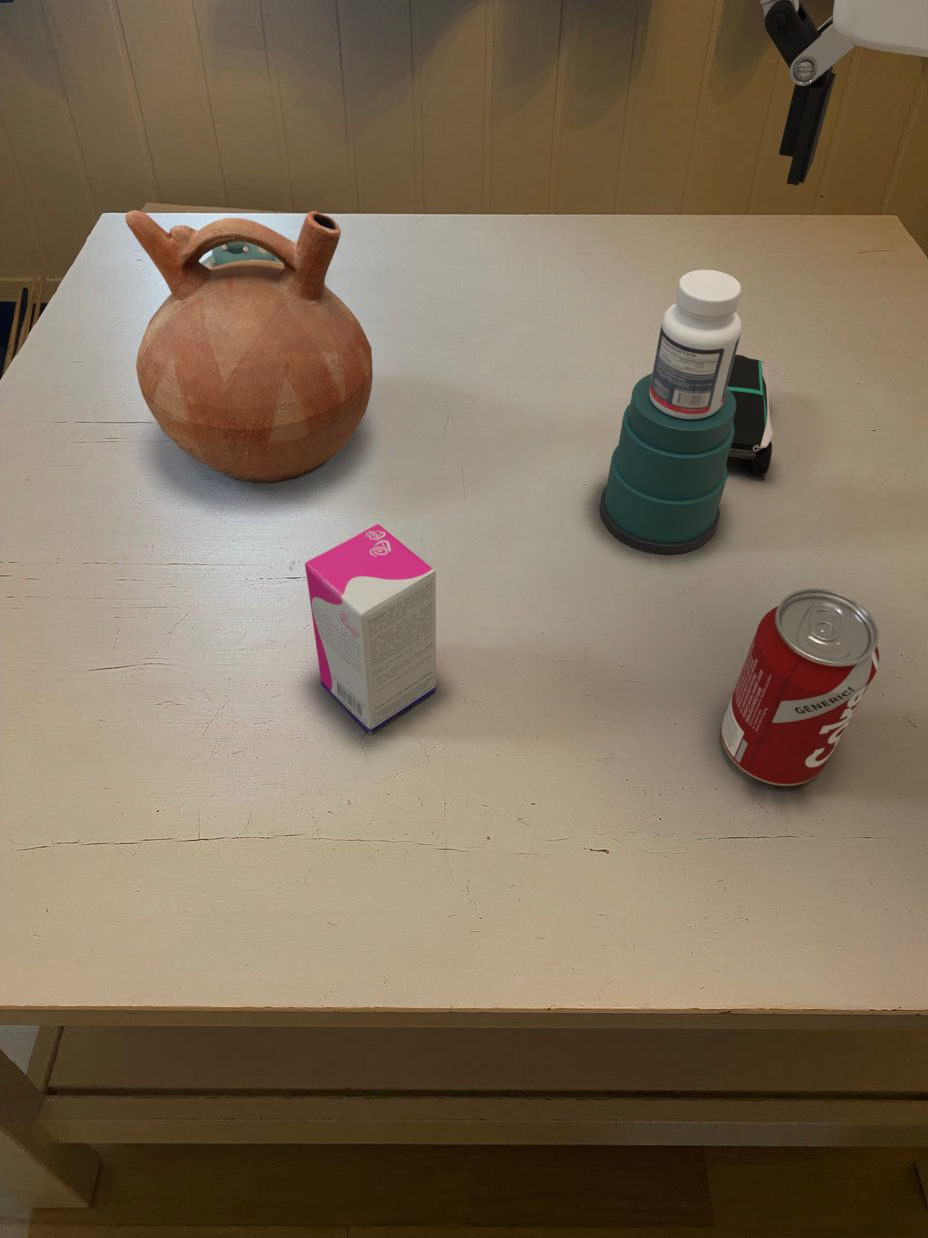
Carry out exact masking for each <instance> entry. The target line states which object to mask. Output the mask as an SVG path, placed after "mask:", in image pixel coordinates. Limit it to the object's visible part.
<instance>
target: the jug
mask: <svg viewBox="0 0 928 1238" xmlns="http://www.w3.org/2000/svg"><path fill="white" fill-rule="evenodd" d="M124 219H125V223H126V225H127V228H128V229H129V230H130V231H131V232H132V234H133V236H134V237H135V239H136V240H137V242H138V243H139V245H140V246H141V248H142V249H143V250H144V252H145V253H146V255H148V257H149V258H150V260H151V261H152V263H153V264H154V266H155V268H157V270H158V272H159V273H160V274H161V276H162V278H163V280H164V281H165V283H166V284H167V287H168V290H169V291H170V294H169V295H168V296H167V297H166V299H165V300H164V301H163V302H162V303H161V305H160V306H159V307H158V309H157V310H156V311H155V313H154V314H153V315H152V316H151V318H150V320H149V322H148V325H147V326H146V329H145V331H144V333H143V336H142V339H141V342H140V344H139V348H138V351H137V356H136V362H135V369H136V375H137V380H138V384H139V388H140V392H141V395H142V397H143V400H144V401H145V403H146V406H147V408H148V410H149V412H150V413H151V414H152V416H153V418H154V419H155V421H156V422H157V425H158V426H159V427H160V429H161V430H162V432H163V433H164V434H165V435H166V436H167V437H168V438H169V439H170V440H171V441H172V442H173V443H174V444H175V445H176V446H177V447H178V448H180V449H181V450H182V451H183V452H184V453H186V454H187V455H188V456H189V457H191V458H193V459H194V460H196V461H197V462H199V463H202V464H203V465H205V466H207V467H209V468H211V469H213V470H215V471H217V472H219V473H221V474H224V475H226V476H228V477H230V478H231V479H234V480H238V481H243V482H247V483H251V484H277V483H282V482H288V481H293V480H296V479H299V478H301V477H304V476H306V475H309V474H311V473H314V472H315V471H316V470H319V469H320V468H322V467H323V466H324V465H326V464H327V463H328V462H329V461H330V460H331V459H332V458H333V457H334V456H335V455H336V454H337V453H338V452H339V451H340V450H341V449H342V448H343V447H344V446H345V445H346V443H347V442H348V441H349V440H350V439H351V438H352V436H353V435H354V433H355V431H356V430H357V428H358V426H359V425H360V423H361V421H362V420H363V417H364V416H365V415H366V412H367V409H368V407H369V402H370V398H371V394H372V389H373V388H372V386H373V377H374V376H373V374H374V373H373V354H372V353H373V352H372V346H371V344H370V342H369V339H368V337H367V335H366V333H365V331H364V329H363V327H362V325H361V323H360V321H359V320H358V318H357V317H356V316H355V314H354V313H353V312H352V311H351V309H350V307H348V306H347V305H346V303H344V302H343V300H342V299H341V298H340V297H339V296H338V295H337V294H335V293H334V292H333V291H332V290H331V289H330V288H329V287H328V286H327V285H326V284H325V283H326V276H327V273H328V270H329V268H330V265H331V263H332V261H333V257H334V255H335V252H336V251H337V247H338V244H339V241H340V238H341V234H342V230H341V228H340V225H339V224H338V223H337V222H336V220H334V218H332V217H331V216H329V215H327V214H324V213H321V212H319V211H316V210H312V211H309V212H307V214H306V216H305V219H304V221H303V223H302V226H301V228H300V232H299V235H298V238H297V240H296V241H293V240H291V239H290V238H288V237H286V236H284V235H283V234H281V233H279V232H278V231H276V230H274V229H271V228H270V227H268V226H267V225H264V224H262V223H259V222H257V221H254V220H250V219H247V218H246V219H245V218H241V217H226V218H221V219H218V220H214V221H212V222H210V223H208V224H206V225H204V226H202V227H201V228H199V230H198V229H196V228H193V227H190V226H188V225H186V224H183V225H174V226H173V227H170V229H169V232H167V231H166V230H165V229H164V228H163V227H162V226H161V225H159V224H158V223H157V222H156V221H155V220H154V219H153V218H152V217H150V216H149V214H147V213H146V212H144V211H140V210H135V209H134V210H130V211H127V212H126V213H125V217H124ZM230 242H248V243H251V244H253V245H256V246H259V247H261V248H263V249H264V250H266V251H268V252H270V253H271V254H272V255H274V256H275V257H276V258H278V259H279V260H280V261H281V262H282V263H280V262H275V261H267V260H243V261H236V262H231V263H227V264H223V265H219V266H216V267H213V268H211V269H209V268H207V267H206V266H204V265H203V264H202V263H201V262H200V261H201V259H202V258H203V256H204V255H206V254H208V253H209V252H212V249H214V248H216V247H219V246H221V245H224V244H227V243H230Z"/></svg>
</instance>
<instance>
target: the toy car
mask: <svg viewBox="0 0 928 1238" xmlns="http://www.w3.org/2000/svg"><path fill="white" fill-rule="evenodd" d="M727 388H728V389H729V390H730V391H731V392H732V394H733V396H734V398H735V401H736V411H735V415H734V418H733V424H734V428H735V429H734V437H733V440H732V444H731V448H730V451H729V455H728V457H730V458H731V457H732V458H740V459H747V460H750V461H752V467H751V470H752V473H753V474H755V475H766V474H767V473H768V471H769V468H770V465H771V462H772V461H771V460H772V454H773V443H772V441H771V440H772V438H773V433H774V431H773V427H772V423H771V422H772V421H771V412H770V398H769V389H770V374H769V370H768V367H767V364H766V362H765V361H763V360H761V359H760V360H759V359H755V358H749V357H747V356H745V355H742V354H735V358H734V362H733V366H732V370H731V374H730V378H729V382H728V386H727Z"/></svg>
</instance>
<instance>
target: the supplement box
mask: <svg viewBox="0 0 928 1238" xmlns="http://www.w3.org/2000/svg"><path fill="white" fill-rule="evenodd" d="M304 568H305V573H306V581H307V589H308V595H309V596H308V597H309V603H310V611H311V617H312V626H313V632H314V639H315V646H316V654H317V660H318V668H319V670H318V671H319V676H320V677H319V678H320V684H321V686H322V687H323V688H324V689H325V690H326V691H327V692H328V693H329V695H330V696H331V697H332V698H333V699H334V700H335V701H336V702H337V703H338V704H339V705H340V706H341V707H342V708H343V709H344V710H345V711H346V712H347V713H348V714H349V715H350V716H351V717H352V718H353V719H354V721H356V722H357V723H358V724H359V725H360V726H361V727H362V728H363V729H364V731H366V732H367V734H368V735H372V734H374V733H376V732H377V731H379V730H380V729H382V728H383V727H385V726H386V725H388V724H389V723H390V722H392V721H393V720H395V719H396V718H398V717H400V716H401V715H402V714H404V713H405V712H407V711H408V710H410V709H411V708H413V707H415V706H416V705H418V704H419V703H421V702H422V701H423V700H425V699H426V698H428V697H429V696H431V695H432V694H434V693H435V692H436V690H437V653H436V651H437V635H436V634H437V632H436V630H437V623H436V622H437V619H436V617H437V614H436V613H437V612H436V611H437V609H436V607H437V604H436V603H437V602H436V601H437V600H436V599H437V598H436V595H437V594H436V593H437V591H436V590H437V589H436V583H437V582H436V581H437V579H436V578H437V577H436V576H437V574H436V569H434V568H433V567H431V565H429V564H428V563H426V561H424V560H423V559H421V558H420V556H418V555H417V554H416V553H415V552H413V550H411V549H410V548H408V547H407V546H406V545H404V543H402V542H401V541H400V540H399V539H397V538H396V537H395V536H394V535H392V533H390V532H389V531H388V530H387V529H385V528H384V527H383V526H382V525H380V523H376V524H375V525H372V526H371V527H368V528H367V529H365V530H364V531H361V532H360V533H358V534H356V535H354V536H353V537H351V538H349V539H347V540H346V541H344V542H342V543H340V544H338V545H336V546H334V547H332V548H331V549H328V550H327V551H325V552H323V553H321V554H319V555H317V556H315V557H313V558H311V559H309V560H307V561H306V562H304Z"/></svg>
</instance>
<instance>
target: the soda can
mask: <svg viewBox="0 0 928 1238" xmlns="http://www.w3.org/2000/svg"><path fill="white" fill-rule="evenodd" d="M879 637H880V635H879V628H878V626H877V623H876V621H875V619H874V617H873V616H872V615H871V614H870V612H869V611H868V610H867V609H866V608H865V607H864V606H863V605H862V604H860V603H859V602H858V601H856V600H854V599H853V598H852V597H849V596H847V595H845V594H843V593H840V592H837V591H834V590H830V589H827V588H826V589H824V588H804V589H800V590H796V591H793V592H792V593H789V594H787V595H786V596H785V597H784V598H783V599H782V600H781V601H780V603H779V604H778V605H777V606H775V607H774V608H772V609H770V610H769V611H768V612H767V613H766V614H765V615H764V616H763V617H762V618H761V619H760V621H759V624H758V625H757V628H756V632H755V634H754V637H753V639H752V642H751V643H750V647H749V650H748V652H747V655H746V658H745V661H744V663H743V665H742V669H741V672H740V674H739V677H738V679H737V682H736V685H735V687H734V689H733V693H732V695H731V697H730V700H729V703H728V706H727V708H726V711H725V714H724V716H723V719H722V721H721V726H720V738H721V742H722V745H723V748H724V750H725V752H726V754H727V755H728V757H729V759H730V760H731V762H733V764H734V765H736V767H737V768H738V769H740V770H741V771H742V772H743V773H745V774H746V775H748V776H750V777H751V778H754V779H755V780H758V781H761V782H763V783H765V784H769V785H774V786H781V787H789V786H791V787H792V786H798V785H803V784H805V783H808V782H810V781H812V780H813V779H815V778H816V777H818V775H820V774H821V773H822V771H823V770H824V769H825V768H826V765H827V763H828V761H829V760H830V758H831V756H832V754H833V752H834V751H835V749H836V747H837V745H838V743H839V741H840V739H841V738H842V736H843V734H844V732H845V730H846V728H847V726H848V725H849V723H850V721H851V719H852V718H853V717H854V715H855V712H856V711H857V708H858V707H859V705H860V704H861V701H862V699H863V698H864V696H865V694H866V692H867V690H868V689H869V687H870V685H871V683H872V681H873V679H874V677H875V676H876V674H877V671H878V668H879V665H880V653H879V652H880V651H879V648H878V647H879V646H878V642H879Z"/></svg>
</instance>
